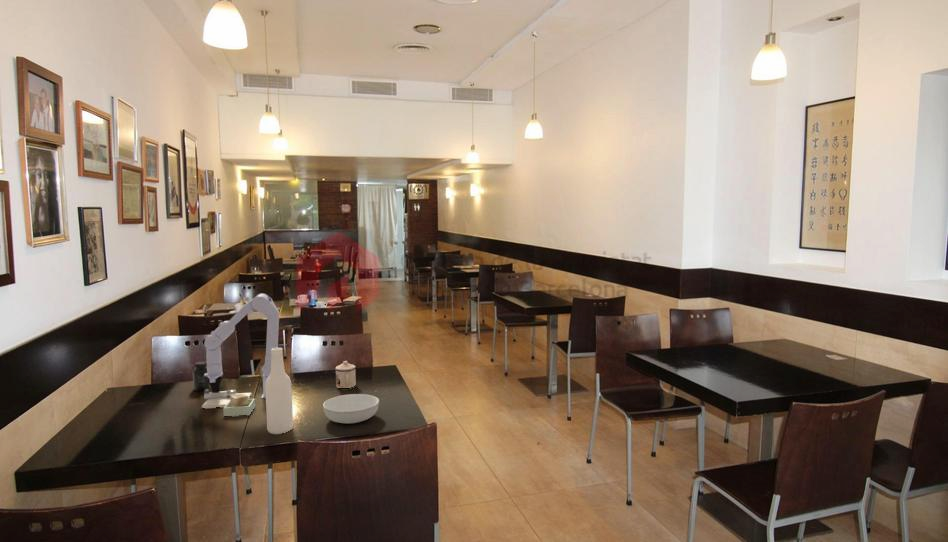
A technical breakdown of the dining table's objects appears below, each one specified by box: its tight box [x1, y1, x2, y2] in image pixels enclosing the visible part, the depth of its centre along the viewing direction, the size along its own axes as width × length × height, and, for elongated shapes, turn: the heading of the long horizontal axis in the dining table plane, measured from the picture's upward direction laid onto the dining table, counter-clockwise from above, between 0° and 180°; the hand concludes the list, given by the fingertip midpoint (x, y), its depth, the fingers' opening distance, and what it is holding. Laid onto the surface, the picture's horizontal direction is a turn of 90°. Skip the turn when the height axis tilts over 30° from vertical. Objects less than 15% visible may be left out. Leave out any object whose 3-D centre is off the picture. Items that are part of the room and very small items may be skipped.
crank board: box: [201, 392, 252, 409], centre depth 231 cm, size 16×14×2 cm
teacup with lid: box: [334, 360, 357, 389], centre depth 249 cm, size 12×9×12 cm
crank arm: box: [203, 389, 237, 400], centre depth 233 cm, size 12×4×3 cm, turn 106°
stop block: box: [230, 392, 249, 407], centre depth 219 cm, size 5×5×6 cm
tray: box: [222, 398, 256, 417], centre depth 219 cm, size 10×10×4 cm
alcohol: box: [265, 347, 294, 435], centre depth 198 cm, size 9×9×30 cm
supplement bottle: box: [192, 361, 211, 392], centre depth 248 cm, size 7×7×12 cm
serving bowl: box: [322, 393, 380, 425], centre depth 210 cm, size 21×21×7 cm
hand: (215, 394), depth 234 cm, fingers closed, pressing on crank arm
